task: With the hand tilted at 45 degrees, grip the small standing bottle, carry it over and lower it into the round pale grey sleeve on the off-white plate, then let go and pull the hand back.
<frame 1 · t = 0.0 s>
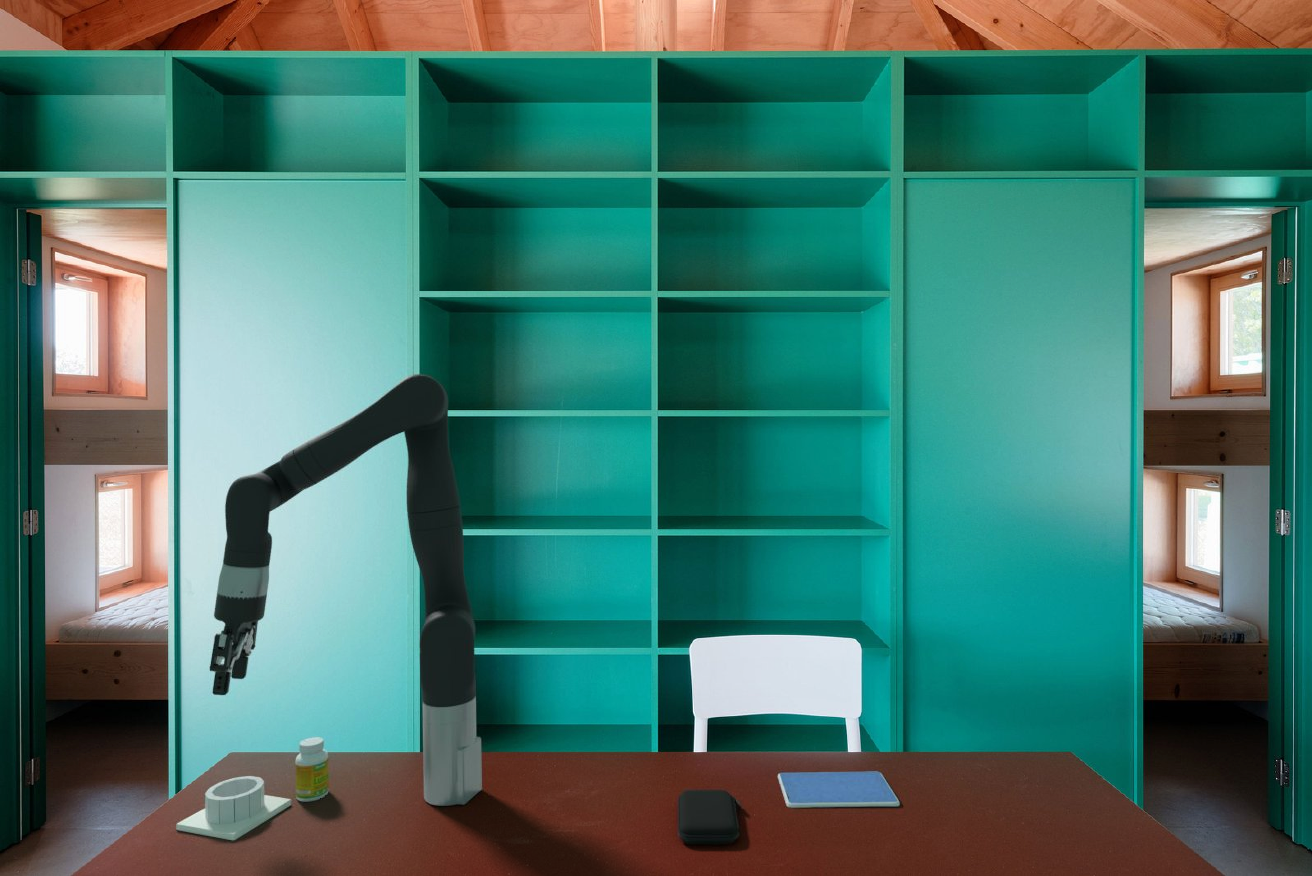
hand: (229, 686, 127), 22 cm above the table, tool pointing down, fingers open, 8 cm apart
sleeve holder: (235, 817, 127), on the table
carrying case or bag: (710, 826, 123), on the table
supplement bottle: (312, 796, 135), on the table
tablet computer: (836, 794, 134), on the table
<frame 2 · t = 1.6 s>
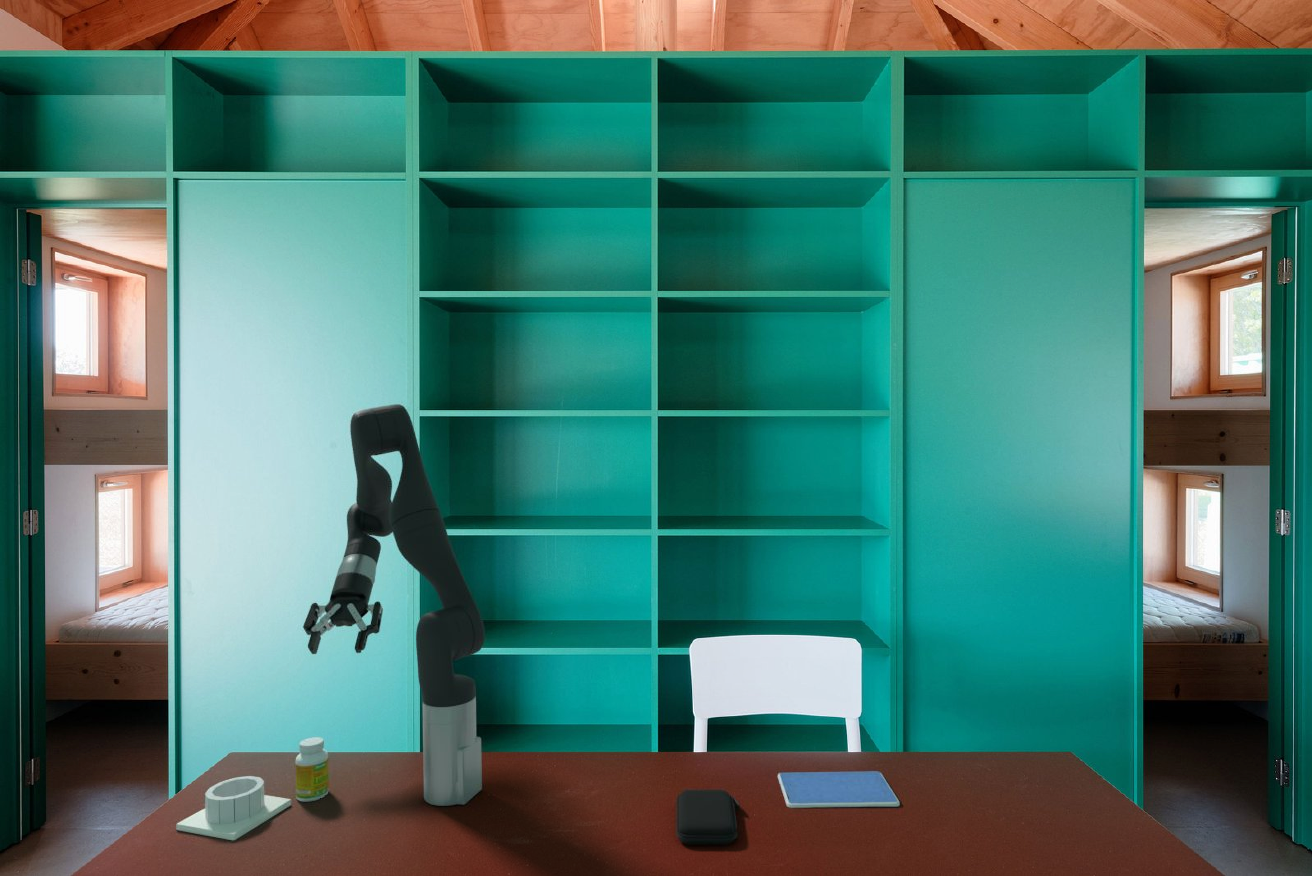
hand: (335, 651, 146), 23 cm above the table, tool tilted 45°, fingers open, 8 cm apart
nothing on the table moved.
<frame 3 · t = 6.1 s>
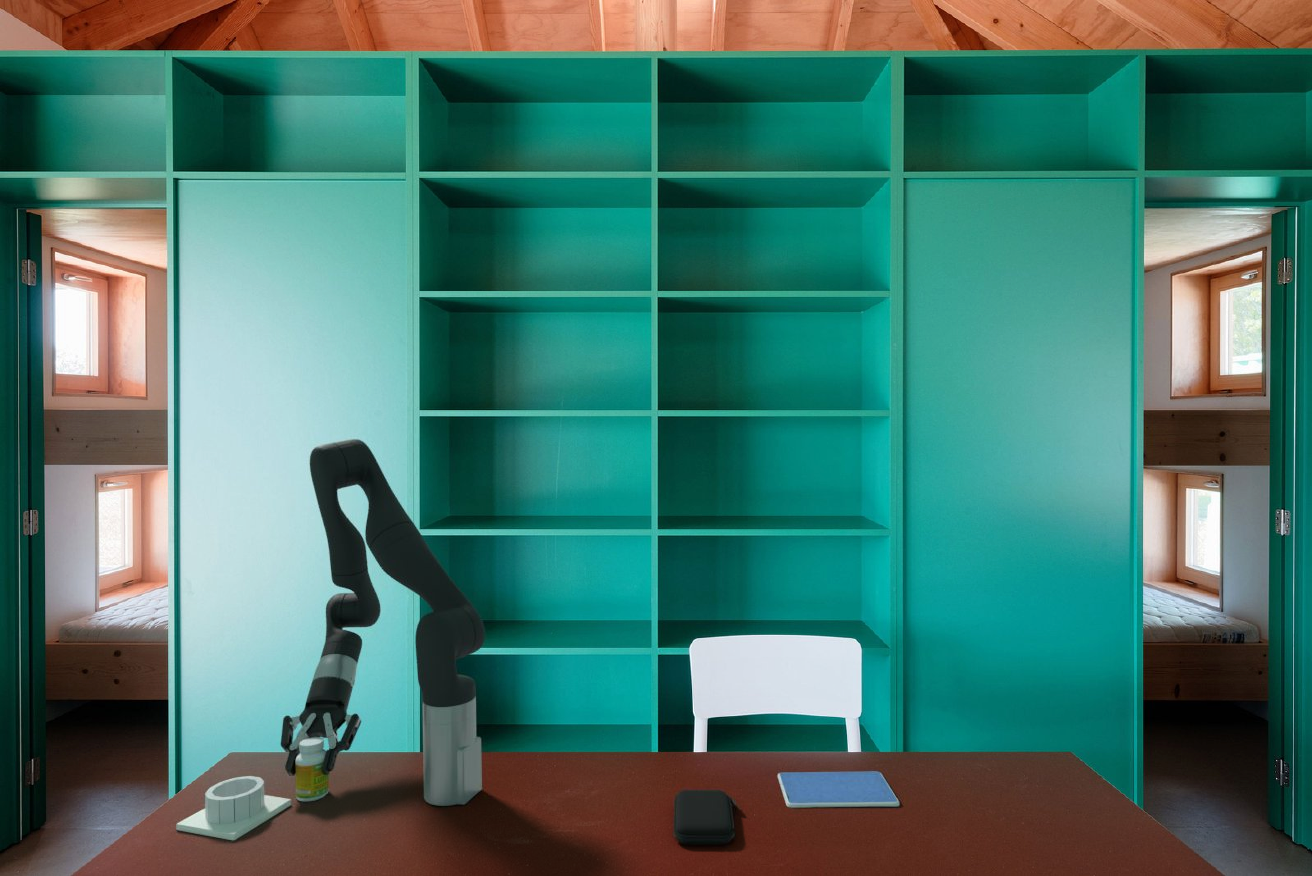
hand: (308, 773, 133), 5 cm above the table, tool tilted 45°, fingers closed on supplement bottle, 5 cm apart
supplement bottle: (312, 796, 135), on the table, touching gripper
everything else where it was.
when the fingers open (7 cm above the table, at t = 11.6 s): supplement bottle stays where it is, resting on sleeve holder.
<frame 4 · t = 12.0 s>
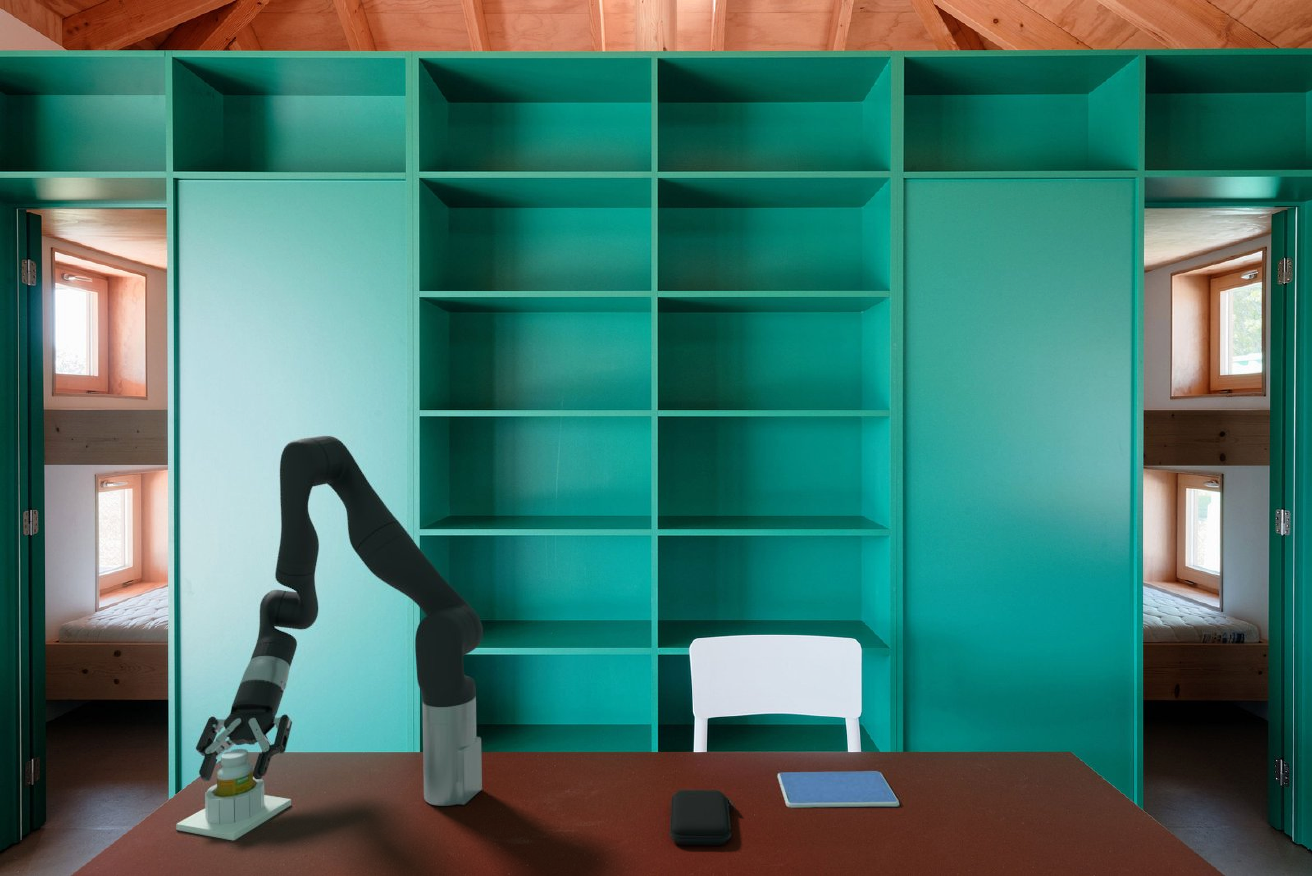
hand: (230, 778, 126), 7 cm above the table, tool tilted 45°, fingers open, 8 cm apart
supplement bottle: (235, 811, 128), point 1 cm above the table, touching sleeve holder
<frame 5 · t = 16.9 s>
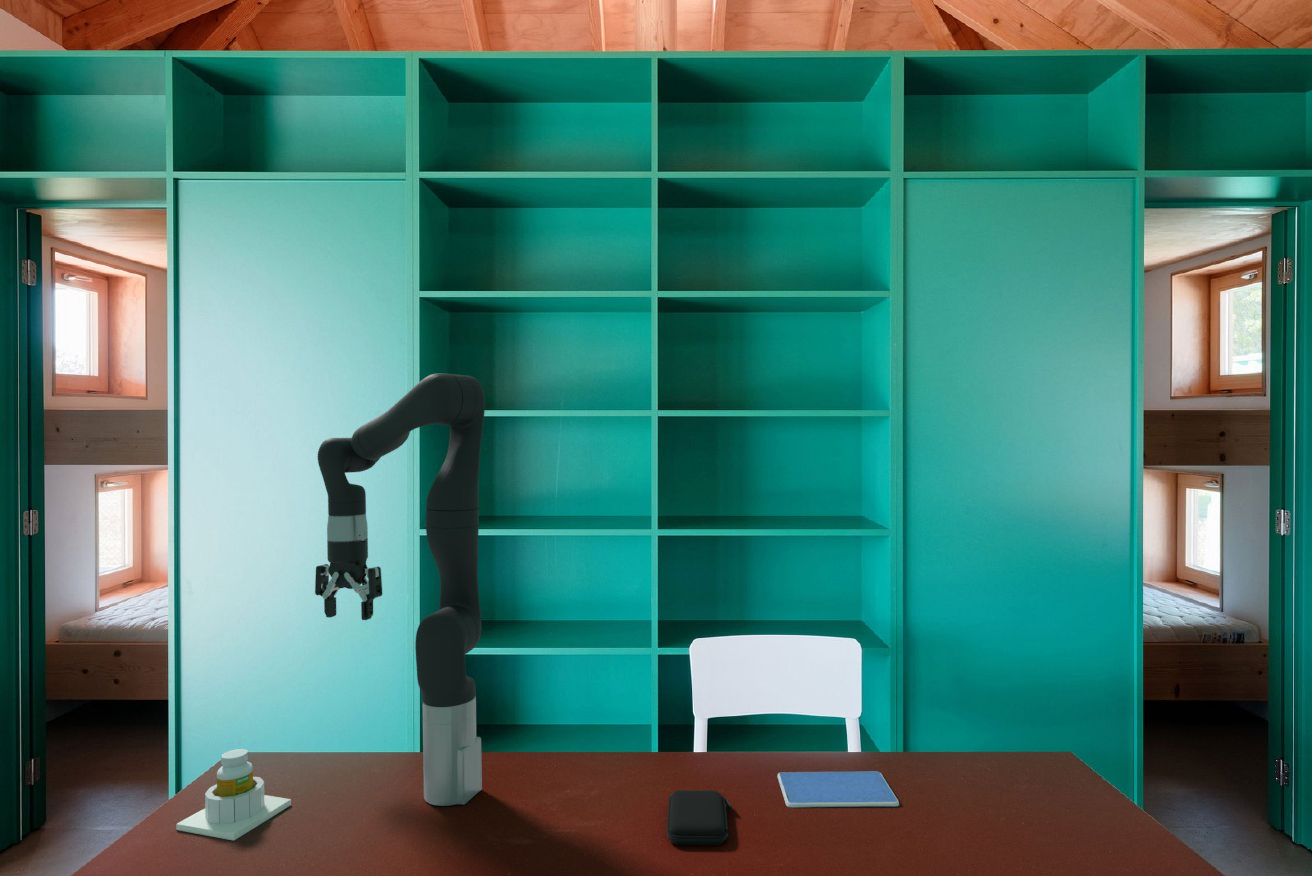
hand: (348, 618, 150), 28 cm above the table, tool pointing down, fingers open, 8 cm apart
at the end: supplement bottle 0.3 cm off-centre on the sleeve holder, point 0.8 cm above the sleeve holder's base; supplement bottle tilted 0°; the gripper is holding nothing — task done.
